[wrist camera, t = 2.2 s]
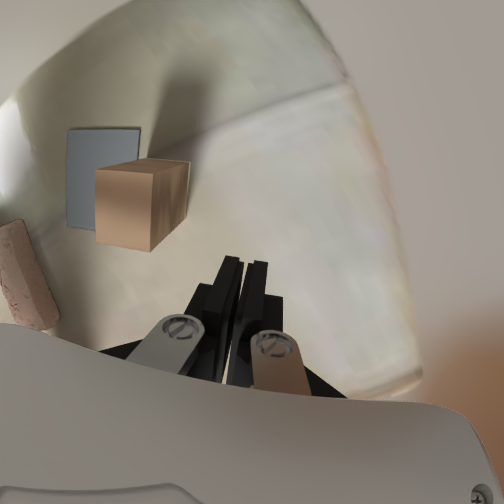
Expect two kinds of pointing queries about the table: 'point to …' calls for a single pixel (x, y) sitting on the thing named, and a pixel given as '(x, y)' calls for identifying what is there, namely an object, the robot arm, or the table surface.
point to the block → (140, 202)
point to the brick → (24, 280)
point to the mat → (93, 167)
